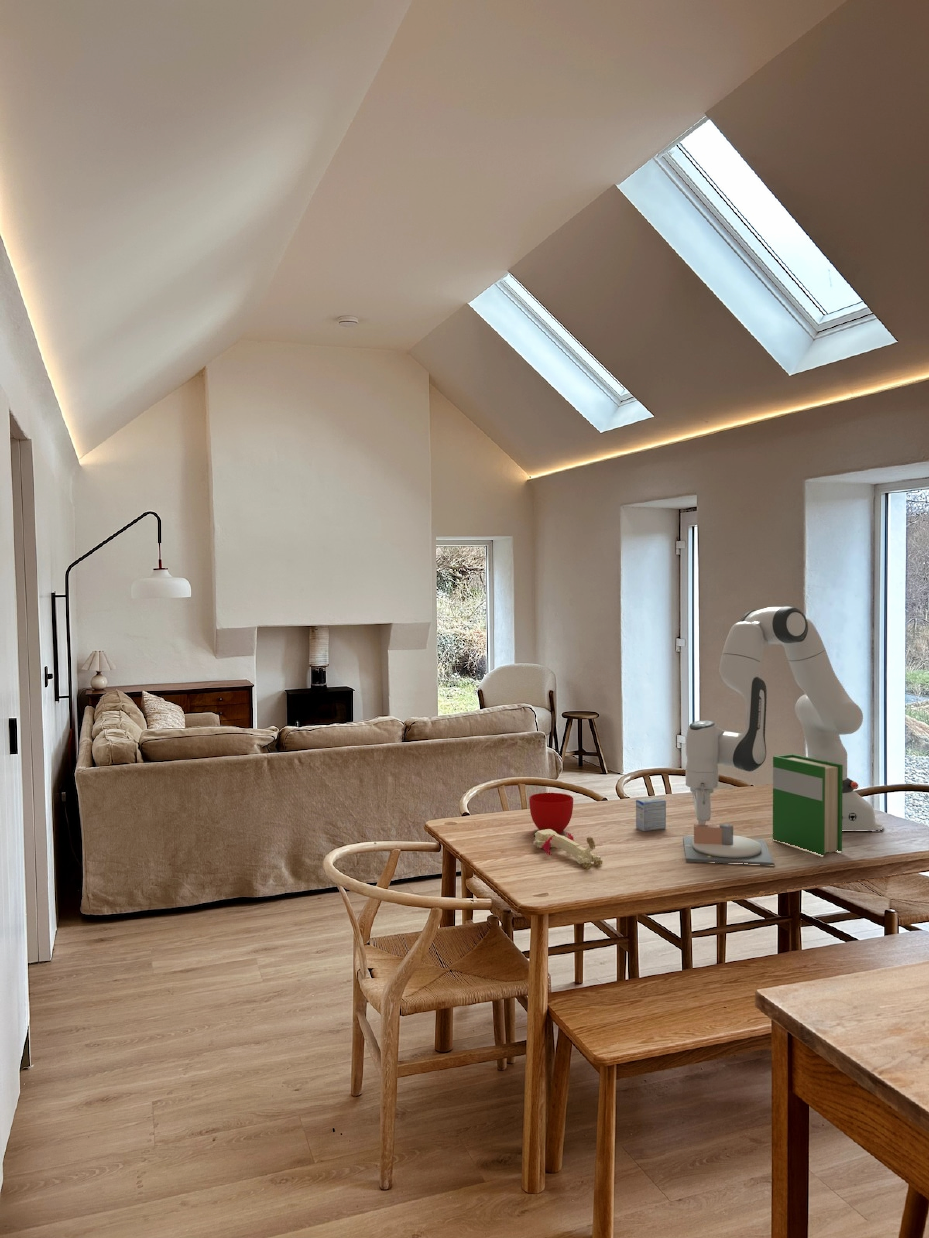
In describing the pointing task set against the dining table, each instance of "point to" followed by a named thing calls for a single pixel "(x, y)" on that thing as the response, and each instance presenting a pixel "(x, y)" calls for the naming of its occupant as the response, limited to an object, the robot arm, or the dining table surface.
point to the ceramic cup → (551, 810)
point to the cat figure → (567, 846)
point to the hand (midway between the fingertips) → (701, 828)
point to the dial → (723, 842)
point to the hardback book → (807, 803)
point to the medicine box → (650, 814)
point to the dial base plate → (696, 856)
